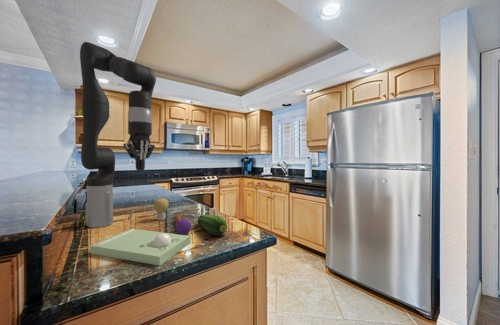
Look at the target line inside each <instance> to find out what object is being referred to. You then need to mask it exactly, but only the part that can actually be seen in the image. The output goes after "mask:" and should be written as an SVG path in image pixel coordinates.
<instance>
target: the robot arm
mask: <svg viewBox="0 0 500 325" xmlns="http://www.w3.org/2000/svg"><path fill="white" fill-rule="evenodd" d="M79 61H80V62H79V63H80V72H81V78H82V79H81V81H82V100H81V102H82V107H81V108H82V110H81V111H82V141H81V149H80V150H81V151H80V161H81V165H82V166H83V167H84V168H85V170H97V171H96V173H95V174H94V175H93V176H91V177H88V178H87V179H86V202H85V206H84V208H85V209H84V210H85V211H84V212H85V214H84V216H85V226H87V227H88V228H90V229H91V228H102V227H106V226H108V227H109V226H110V225H112V224H113V223H114V193H113V192H114V191H113V190H114V188H113V187H114V183H113V182H114V179H115V173H116V172H115V171H116V156H115V153H114V150H113V149H111V148H110V147H98V141H99V135H100V133H101V131H102V130H103V129H104V127H105V126H106V124H107V122H108V121H109V119H110V101H109V98H108V96H107V95H106V94H107V93H105V91H104V90H103V88H102V87H101V85H100V84H99V81H98V80H97V77H96V72H95V70H97V71H102V72H110V73H113V74H114V75H115V76H116V77H119V78H122V79H123V80H124V81H125V82H128V83H129V84H133V85H137V86H139V87H141V88H140V90H131V91H130V92H129V93H128V111H127V134H128V135H129V139H128V142H126V143H125V142H124V143H123V144H122V145H123V147H124V149H125V151H126V152H127V154H128V156H129V157H130V158H131V159H134V160H135V169H136V171H145V168H146V161H145V160H147V159H149V158H150V157H151V156H152V154H153V151H154V149H155V147H156V145H155V144H152V143H151V138H150V137H151V136H152V135H153V134H152V133H153V131H152V130H153V129H152V128H153V125H152V124H153V123H152V122H153V119H152V117H153V116H152V96H153V93H154V92H153V91H154V89H155V86H156V82H157V75H156V73H155V71H154V70H153V68H151V67H148V66H146V65H143V64H141V63H139V62H138V63H137V62H135V61H133V60H129V59H128V58H124V57H121V56H117V55H116V54H114V53H113V52H111V50H109V49H107V48H105V47H102V46H100V45H97V44H94V43H91V42H89V41H84V42H83V43H81V46H80V50H79Z"/></svg>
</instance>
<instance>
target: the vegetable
mask: <svg viewBox="0 0 500 325" xmlns="http://www.w3.org/2000/svg"><path fill="white" fill-rule="evenodd" d="M196 219H197V222H196V223H197V224H198V226H199V227H201V228H203V229H204V230H205V231H206V232H208V234H210V235H213V236H216V237H220V236H222V235H224V233H225V232H226V231H227V229H228V223H227V221H226V219H224V218H223V217H221V216H219V215H213V214H200V215H199V217H197V218H196Z"/></svg>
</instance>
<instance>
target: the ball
mask: <svg viewBox="0 0 500 325" xmlns="http://www.w3.org/2000/svg"><path fill="white" fill-rule="evenodd" d="M165 233H166V232H162V234H159V235H157V236H156V237H155V239H154V241H153V246H154V248H163V247H166V246H168V245H169V244H171V243H172V240H171V237H170V236H169V235H168V234H165Z"/></svg>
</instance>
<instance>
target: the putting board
mask: <svg viewBox="0 0 500 325" xmlns="http://www.w3.org/2000/svg"><path fill="white" fill-rule="evenodd" d="M162 233H163V232H160V231H153V230H144V229H136V228H130V229H127V230H124V231H122V232H120V233H117V234H114V235H113V236H109V237H108V238H105V239H103V240H101V241H97V242H95V243H93V244H91V245H89V246H90V247H89V248H90V249H89V254H90V253H91V255H98V256H101V257H102V256H103V257H109V258H113V259H120V260H126V261H132V262H138V263H141V264H142V263H143V264H148V265H155V266H161V265H163V264H164V263H165V262H167V261H168V260H170V259H171V258H172V257H173V256H175V255H176V254H177V253H179V252H180V251H181V250H183V249H184V248H185V247H187V246H188V245H190V244H191V235H187V234H186V235H179V234H178V233H177V234H176V233H171V232H170V233H169V232H164V233H165V234H168V235H169V236H170V237H171V240H172V243H171V244H169V245H168V246H166V247H163V248H154V246H153V241H154V239H155V237H156V236H157V235H159V234H162Z"/></svg>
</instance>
